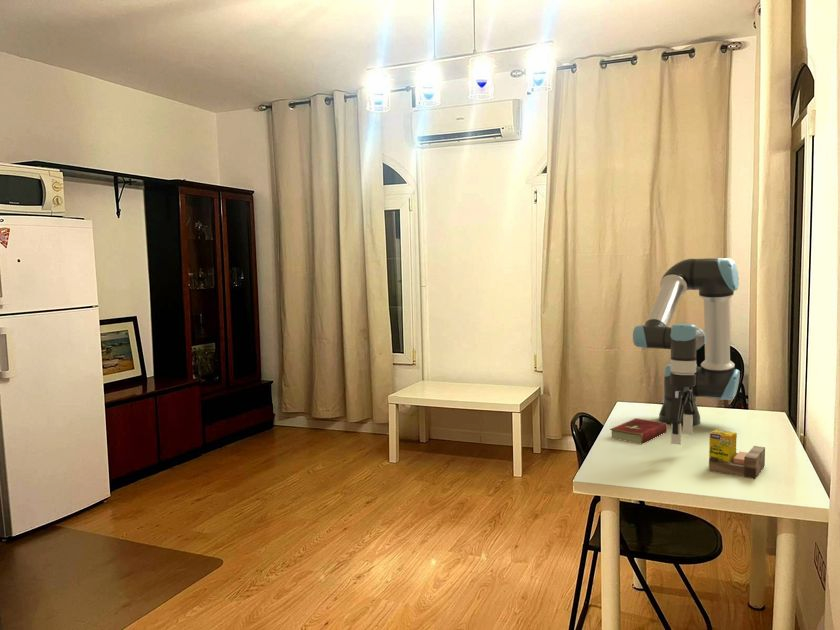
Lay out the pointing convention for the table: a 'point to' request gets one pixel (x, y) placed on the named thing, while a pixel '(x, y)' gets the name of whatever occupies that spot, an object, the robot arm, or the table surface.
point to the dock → (749, 469)
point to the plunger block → (739, 458)
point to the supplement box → (723, 445)
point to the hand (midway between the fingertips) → (681, 439)
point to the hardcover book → (638, 430)
